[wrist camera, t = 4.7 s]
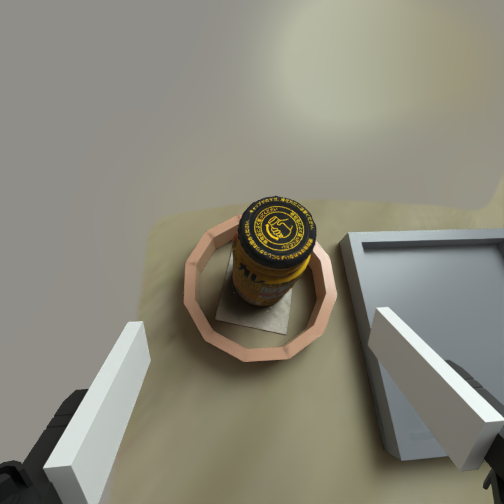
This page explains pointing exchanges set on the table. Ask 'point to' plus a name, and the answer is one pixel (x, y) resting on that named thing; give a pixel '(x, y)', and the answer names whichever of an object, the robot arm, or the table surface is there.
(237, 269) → the condiment
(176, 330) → the table surface
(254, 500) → the table surface
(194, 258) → the ring holder
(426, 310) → the tray
